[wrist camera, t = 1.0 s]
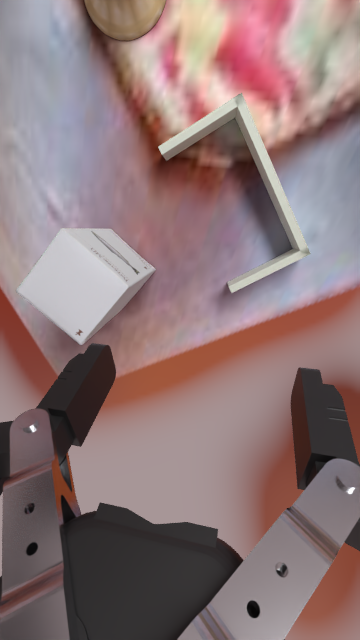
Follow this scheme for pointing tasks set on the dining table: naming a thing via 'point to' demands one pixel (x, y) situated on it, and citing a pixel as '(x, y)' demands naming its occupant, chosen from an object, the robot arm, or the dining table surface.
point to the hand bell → (125, 16)
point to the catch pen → (257, 149)
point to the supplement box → (84, 280)
